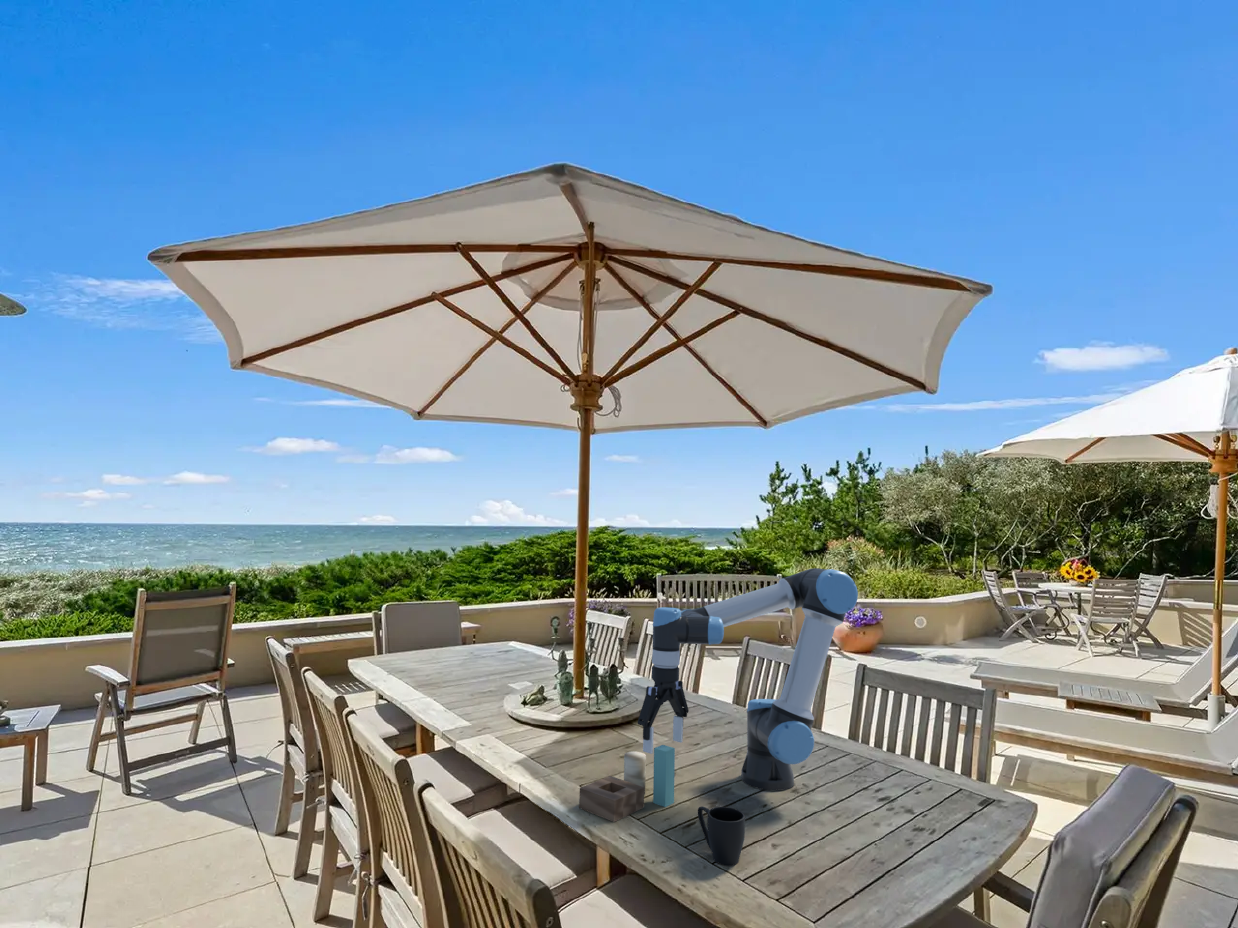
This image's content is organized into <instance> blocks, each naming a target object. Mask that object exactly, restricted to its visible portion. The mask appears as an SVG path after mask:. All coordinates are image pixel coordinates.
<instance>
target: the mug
mask: <svg viewBox="0 0 1238 928" xmlns="http://www.w3.org/2000/svg"><path fill="white" fill-rule="evenodd" d="M704 812H705V813H706V814H707V822H706V821H705V818H704ZM697 817H698V821H699V825H700V828H701V830H702V834H703V836H704V839H705V842H706V844H707V847H708V849H710V851H711V854H712V858H713V861H714V862H716V864H719V865H721V866H726V867H727V866H728V867H730V866H735V865H737V864H738V863H739V861H740V858H741V854H742V850H743V845H744V840H745V834H746V816H745V813H744V812H742V811H741V810H739V809H736V808H735V807H731V806H716V807H712V808H710V809H709V808H707V807H705V806H699V807H698V808H697ZM706 823H707V824H706Z"/></svg>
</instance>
